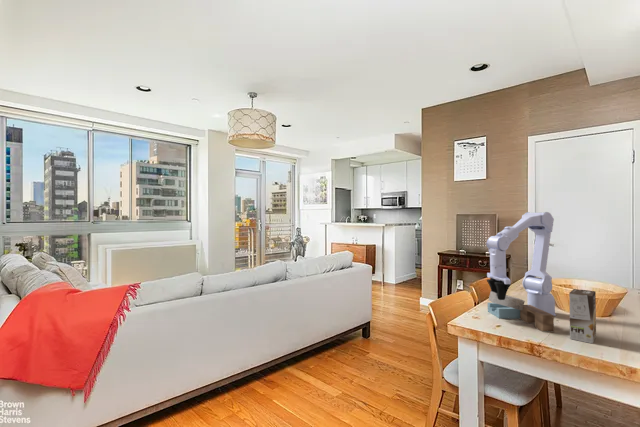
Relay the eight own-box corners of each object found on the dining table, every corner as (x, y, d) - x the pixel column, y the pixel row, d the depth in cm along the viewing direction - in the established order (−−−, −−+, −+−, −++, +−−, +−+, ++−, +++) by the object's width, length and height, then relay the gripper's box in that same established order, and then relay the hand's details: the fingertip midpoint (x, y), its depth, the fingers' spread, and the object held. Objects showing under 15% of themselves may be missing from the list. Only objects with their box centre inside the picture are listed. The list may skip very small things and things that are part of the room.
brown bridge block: (530, 319, 133) (529, 304, 133) (553, 331, 119) (553, 315, 119) (520, 319, 133) (520, 304, 133) (542, 331, 119) (542, 315, 119)
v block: (510, 311, 144) (510, 302, 144) (523, 318, 134) (523, 308, 134) (487, 311, 144) (487, 302, 144) (499, 318, 134) (499, 308, 134)
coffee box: (593, 344, 107) (592, 295, 107) (569, 339, 112) (568, 292, 112) (596, 336, 114) (595, 291, 114) (573, 332, 118) (573, 288, 118)
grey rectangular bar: (516, 307, 135) (519, 298, 135) (522, 310, 131) (524, 301, 131) (488, 300, 135) (490, 290, 135) (493, 302, 131) (495, 293, 131)
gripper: (479, 262, 140) (480, 293, 140) (497, 268, 126) (498, 303, 126) (496, 262, 140) (496, 293, 140) (515, 268, 126) (516, 302, 126)
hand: (498, 298), depth 133 cm, fingers closed on grey rectangular bar, 4 cm apart
